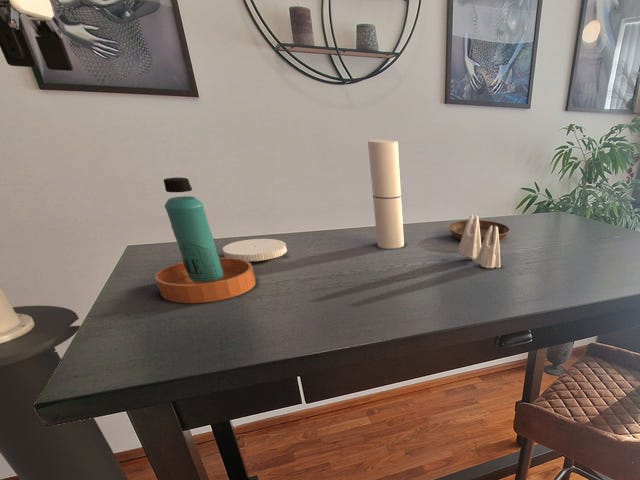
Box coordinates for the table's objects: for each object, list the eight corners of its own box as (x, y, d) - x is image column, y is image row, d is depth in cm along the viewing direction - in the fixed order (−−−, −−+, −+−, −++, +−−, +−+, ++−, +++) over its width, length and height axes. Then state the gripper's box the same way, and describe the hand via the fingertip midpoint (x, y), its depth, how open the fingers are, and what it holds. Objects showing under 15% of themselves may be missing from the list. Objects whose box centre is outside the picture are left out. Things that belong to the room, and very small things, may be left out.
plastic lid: (295, 249, 114) (293, 239, 113) (275, 266, 103) (273, 255, 101) (240, 248, 114) (237, 238, 112) (214, 265, 102) (211, 254, 101)
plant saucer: (516, 245, 124) (517, 234, 123) (454, 247, 121) (454, 235, 119) (500, 229, 139) (501, 219, 137) (444, 230, 135) (444, 220, 133)
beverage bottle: (231, 278, 94) (201, 175, 83) (221, 289, 88) (188, 180, 77) (197, 279, 93) (163, 174, 82) (185, 290, 87) (147, 180, 76)
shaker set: (456, 258, 112) (456, 213, 106) (468, 255, 114) (468, 210, 108) (489, 270, 105) (491, 222, 99) (501, 267, 107) (504, 220, 101)
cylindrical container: (381, 249, 117) (371, 142, 103) (374, 242, 122) (364, 139, 108) (407, 247, 119) (401, 142, 106) (400, 240, 125) (393, 139, 111)
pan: (147, 306, 82) (140, 288, 80) (176, 275, 96) (170, 259, 94) (248, 299, 86) (243, 282, 84) (261, 271, 100) (257, 255, 98)
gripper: (-15, -82, 61) (45, 69, 70) (-123, -136, 47) (-30, 62, 56) (49, -74, 63) (100, 72, 72) (-35, -124, 49) (41, 66, 58)
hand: (43, 68), depth 64 cm, fingers open, 9 cm apart
